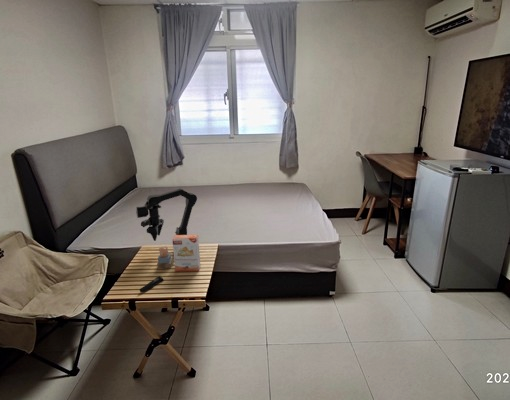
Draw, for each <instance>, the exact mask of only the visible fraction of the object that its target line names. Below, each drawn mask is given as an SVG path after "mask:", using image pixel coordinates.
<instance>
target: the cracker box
mask: <svg viewBox="0 0 510 400" xmlns="http://www.w3.org/2000/svg"><path fill="white" fill-rule="evenodd" d="M171 241H172V249H173V251H172V252H173V260H174V267H175V272H199V271H200V268H201V256H200V255H201V254H200V253H201V252H200V244H199V243H200V241H199V234H187V235H176V234H174V236H173V237H172V239H171Z"/></svg>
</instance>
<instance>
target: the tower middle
mask: <svg viewBox="0 0 510 400" xmlns="http://www.w3.org/2000/svg"><path fill="white" fill-rule="evenodd" d="M171 258H172V252H170V253H169V252H168V257H165V258H161V257H160V254H159V256H158V257H157V263H158V264H161V263H170V260H171Z"/></svg>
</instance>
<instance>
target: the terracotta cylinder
mask: <svg viewBox="0 0 510 400" xmlns="http://www.w3.org/2000/svg"><path fill="white" fill-rule="evenodd" d="M158 250H159V251H158V252H159V255H160V257H161V258H165V257H168V253H169V248H168V247H167V246H161V247H159V248H158Z"/></svg>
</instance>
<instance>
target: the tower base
mask: <svg viewBox="0 0 510 400" xmlns="http://www.w3.org/2000/svg"><path fill="white" fill-rule="evenodd" d="M174 264H175V261H174V257H171V260H170V263H161V264H158V262H157V264H156V265H157V266H156V268H157V270H162V269H163V270H165V269H167V270H168V269H172V267H173V265H174Z"/></svg>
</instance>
